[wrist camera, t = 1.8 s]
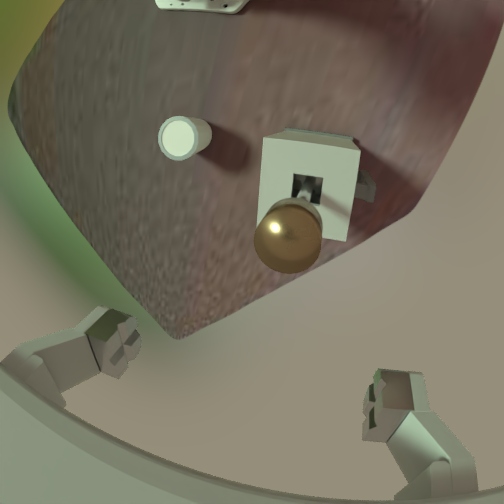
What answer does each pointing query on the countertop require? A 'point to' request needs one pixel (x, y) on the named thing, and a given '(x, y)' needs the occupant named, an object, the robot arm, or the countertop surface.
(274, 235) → the plunger
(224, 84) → the countertop surface
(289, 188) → the block
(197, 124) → the shot glass
